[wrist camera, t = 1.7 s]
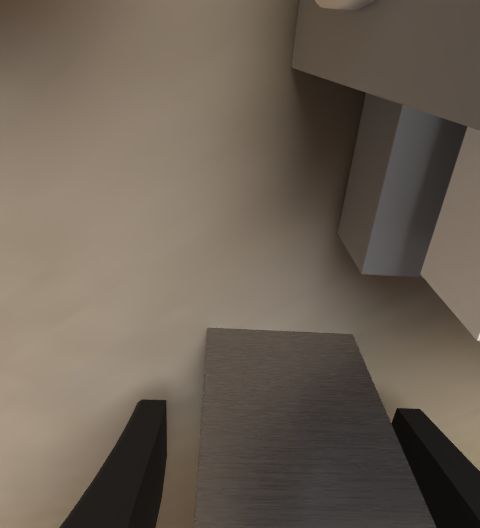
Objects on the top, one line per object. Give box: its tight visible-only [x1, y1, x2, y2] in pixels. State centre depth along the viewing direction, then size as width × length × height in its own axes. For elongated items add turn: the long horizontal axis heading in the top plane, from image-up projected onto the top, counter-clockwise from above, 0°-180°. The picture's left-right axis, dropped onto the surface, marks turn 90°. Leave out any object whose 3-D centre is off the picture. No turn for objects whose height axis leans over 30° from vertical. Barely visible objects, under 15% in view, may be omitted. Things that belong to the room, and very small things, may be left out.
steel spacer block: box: [194, 328, 436, 528], centre depth 10 cm, size 4×4×6 cm
